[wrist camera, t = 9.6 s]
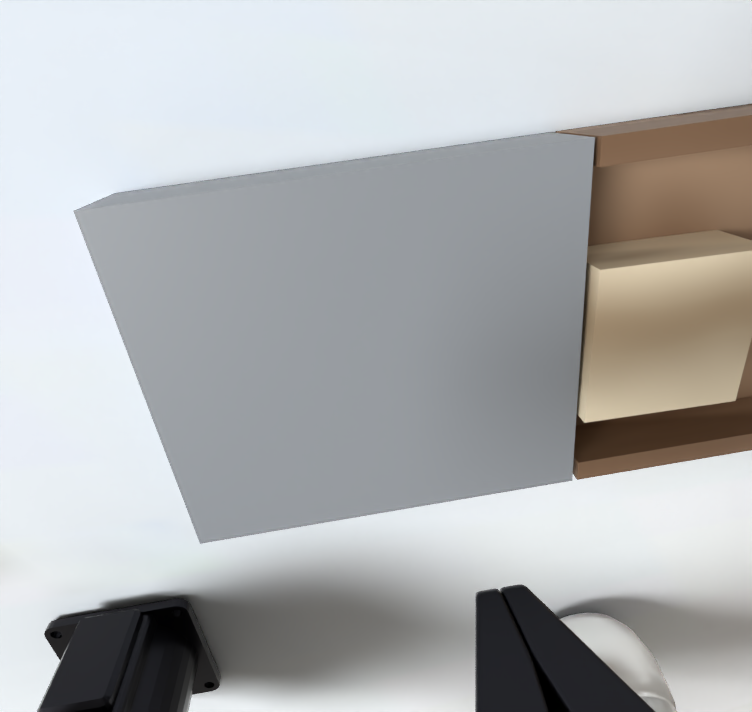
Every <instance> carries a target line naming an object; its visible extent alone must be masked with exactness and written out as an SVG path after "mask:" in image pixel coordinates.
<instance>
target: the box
mask: <svg viewBox="0 0 752 712" xmlns="http://www.w3.org/2000/svg"><path fill="white" fill-rule="evenodd" d="M556 133H561V134H570V135H579V136H588V137H595V143H594V159H593V174H592V189H591V204H590V219H589V234H588V246H593V245H601V244H609V243H617V242H624V241H632V240H640V239H648V238H656V237H664V236H672V235H680V234H688V233H696V232H704V231H712V230H719V231H723V232H726V233H729V234H732V235H736V236H739V237H742V238H745V239H749V240H752V104H747V105H740V106H733V107H726V108H718V109H711V110H704V111H697V112H690V113H683V114H676V115H669V116H662V117H654V118H647V119H640V120H633V121H626V122H619V123H612V124H605V125H598V126H591V127H583V128H576V129H569V130H562V131H556ZM749 450H752V338H751V342H750V346H749V350H748V354H747V358H746V362H745V366H744V370H743V373H742V377H741V381H740V385H739V389H738V393H737V397H736V401H732V402H725V403H718V404H711V405H704V406H697V407H690V408H683V409H677V410H670V411H663V412H656V413H649V414H642V415H635V416H628V417H621V418H614V419H607V420H601V421H594V422H587V423H584V422H583V421H582V419H581V418H580V417H579V416H578V415H577V414H576V429H575V444H574V459H573V474H574V476H575V477H576V479H577V480H578V479H584V478H589V477H595V476H601V475H607V474H613V473H619V472H625V471H631V470H637V469H642V468H648V467H654V466H660V465H666V464H672V463H678V462H684V461H690V460H695V459H701V458H707V457H713V456H719V455H725V454H731V453H737V452H743V451H749Z"/></svg>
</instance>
